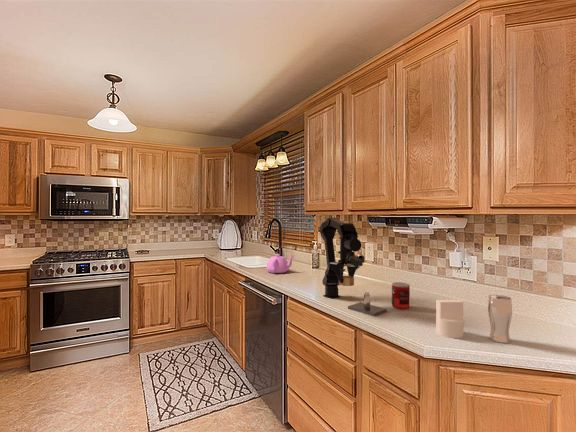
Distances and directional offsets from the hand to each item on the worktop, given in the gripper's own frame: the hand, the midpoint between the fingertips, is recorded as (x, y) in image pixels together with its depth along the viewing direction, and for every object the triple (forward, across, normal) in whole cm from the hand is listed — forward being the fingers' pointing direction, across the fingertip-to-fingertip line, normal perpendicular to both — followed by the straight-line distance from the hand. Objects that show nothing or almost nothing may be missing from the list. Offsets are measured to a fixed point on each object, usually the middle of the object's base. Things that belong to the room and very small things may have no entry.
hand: (346, 282), depth 144 cm
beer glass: (+12, +11, -59) cm, 61 cm away
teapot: (+11, +32, +88) cm, 95 cm away
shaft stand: (+12, +4, -9) cm, 15 cm away
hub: (+1, 0, 0) cm, 1 cm away
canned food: (+12, +20, -17) cm, 29 cm away
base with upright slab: (+12, +3, -45) cm, 47 cm away
